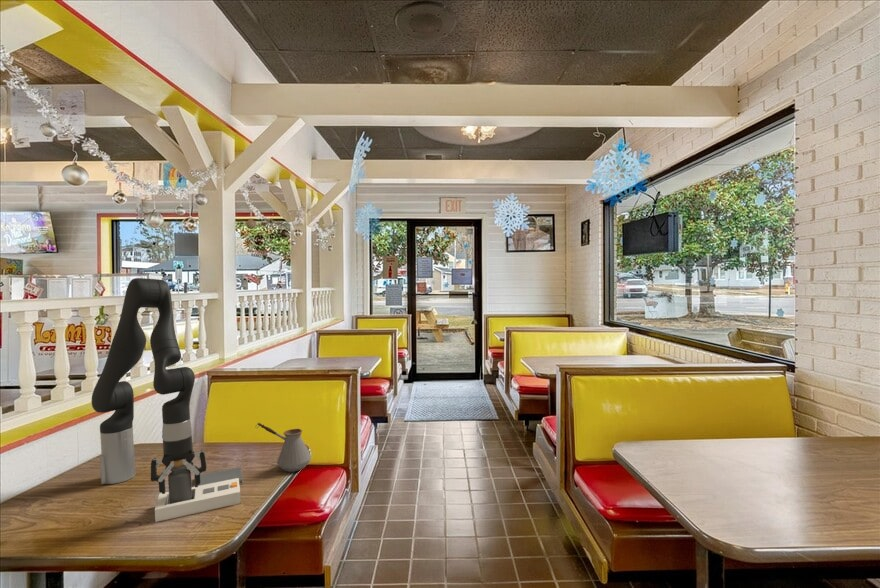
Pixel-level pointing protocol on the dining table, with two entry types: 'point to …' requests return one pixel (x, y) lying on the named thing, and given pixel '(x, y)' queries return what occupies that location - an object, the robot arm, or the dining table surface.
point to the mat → (221, 476)
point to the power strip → (200, 500)
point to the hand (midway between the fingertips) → (180, 489)
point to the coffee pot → (291, 450)
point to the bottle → (179, 483)
